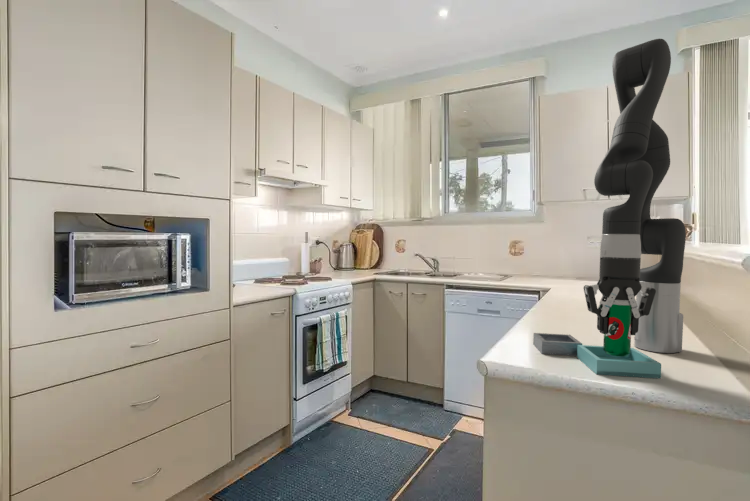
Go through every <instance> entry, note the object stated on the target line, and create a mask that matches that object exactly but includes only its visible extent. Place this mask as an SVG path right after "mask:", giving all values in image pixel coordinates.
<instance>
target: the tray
mask: <svg viewBox="0 0 750 501" xmlns="http://www.w3.org/2000/svg"><path fill="white" fill-rule="evenodd" d="M576 358H577V359H578V360H579V361H581V363H582V364H584V365H585V366H586V367H587V368H588V369H590V370H591V371H592V372H593V373H594V374H595V375H599V376H613V377H614V376H616V377H630V378H631V377H632V378H647V379H661V377H662V363H661V362H659V361H657V360H656V359H654V358H652V357H650V356H648V355H646V354H645V353H643V352H642V351H640V350H638V349H636V348H635V347H631V348H630V354H629V355H628V356H625V357H619V356H613V355H609V354H607V353H605V351H604V350H603V346H602V345H586V344H585V345H583V344H582V345H577V356H576Z"/></svg>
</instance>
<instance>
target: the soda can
mask: <svg viewBox="0 0 750 501" xmlns="http://www.w3.org/2000/svg"><path fill="white" fill-rule="evenodd" d="M606 317H608V319H607V334H603V350H604V351H605V353H607V354H609V355H613V356H619V357H625V356H628V355H629V354H630V348H632V347H631V344H632V340H631V339H632V335H631V323H632V306H631V304H630V302H629V300H618V299H615V300H614V302H613V304H612V306H611V308H609V311H608V313H607V315H606Z"/></svg>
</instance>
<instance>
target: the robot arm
mask: <svg viewBox="0 0 750 501" xmlns="http://www.w3.org/2000/svg"><path fill="white" fill-rule="evenodd" d="M671 56H672V55H671V50H670V46H669V44H668V42H667V40H665V39H663V38H655V39H650V40H648V41H645V42H643V43H639V44H637V45H634V46H631V47H627V48H625V49H622V50H620V51H617V52H616V53H615V55H614V56H613V59H612V78H613V82H614V83H613V84H614V89H615V93H616V99H617V103H618V109H619V113H620V114H619V116H618V117H617V119H616V121H615V124H614V127H613V132H612V135H611V136H612V137H611V143H610V146H609V148H608V150H607V152H606V154H605V155H604V157H603V159H602V161H601V162H600V163H599V165H598V168H597V169H596V172H595V174H594V182H593V183H594V184H593V185H594V188H595V189H596V191H597V193H599V195H601V196H604V197H606V196H607V197H612V196H629V197H628V199H627V200H626V201H625V202H624V203H622V204H618V205H614V206H610V207H607V208H605V209H604V211H603V213H602V230H601V231H602V233H601V240H600V248H599V249H600V250H599V254H600V255H599V279H598V281H597V283H596V284H591V285H588V284H585V285H583V292H584V297H585V301H586V302H585V303H586V307H587V310H588V311H589V312H590V313H592V314H596V316H597V317H596V318H597V319H596V320H597V321H596V328H597V330H598V331H599V332H600V333H601V334H602V335H604V334H607V319H608V317H606V315H607V313H608V311H609V308H611V306H612V304H613V302H614V300H615V299H618V300H629V302H630V304H631V306H632V323H631V336H634V337H633V338H634V339H633V340H634V344H633V345H634V346H635V348H637V349H640V350H643V351H644V350H645V351H648V352H654V353H662V354H663V353H664V354H675V353H682V352H683V333H684V332H683V330H684V314H683V313H680V312H681V311H680V309H681V308H680V307H681V306H680V305H681V284H682V273H683V268H684V258H685V257H684V256H685V248H686V240H687V238H686V237H687V234H686V233H687V232H686V227H685V224H684V221H682V220H681V219H679V218H674V217H673V218H651V205H652V200H653V198H654V195H656V194H655V193H656V191H657V190H658V188H659V187H660V185H661V184H662V182H663V180H664V179H665V177H666V175H667V173H668V171H669V169H670V166H671V155H670V152H671V151H670V142H669V138H668V135H667V133H666V132H665V130H664V129H663V128H662V127H660V125H659V124H658V123H657V122H656V121H655V120H654V115H655V111H656V109H657V106H658V104H659V102H660V99H661V96H662V93H663V91H664V90H665V89H664V88H665V85H666V82H667V80H668V77H669V74H670V70H671V66H672V65H671V64H672V57H671ZM641 86H642V87H641ZM637 87H641V88H640V90H639V91H638V92H637V93H636V89H635V88H637ZM641 255H653V256H654V255H656V256H658V255H659V256H661V258H660V261H659V262H657V263H655V264H652V265H650V266H648V267H642V268H641V263H642V262H641V260H642V256H641ZM598 291H599V292H600V293H601V295H602V296H601V298H600V301H599V305H597V304H598V303H597V301H596V295H597V294H598Z"/></svg>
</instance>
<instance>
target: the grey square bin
mask: <svg viewBox="0 0 750 501" xmlns="http://www.w3.org/2000/svg"><path fill="white" fill-rule="evenodd" d="M532 337H533V338H532V341H533V342H532V343H533V344H532V345H534V347H535V348H536V349H537V351H539V352H540V354H541V355H553V356H554V355H555V356H556V355H558V356H570V357H575V356H576V357H577V345H583V343H582V341H581V342H580V341H579V340H578V339H577V338H575V337H574V336H572V335H571V334H563V333H562V334H561V333H544V332H543V333H541V332H533V336H532Z"/></svg>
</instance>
